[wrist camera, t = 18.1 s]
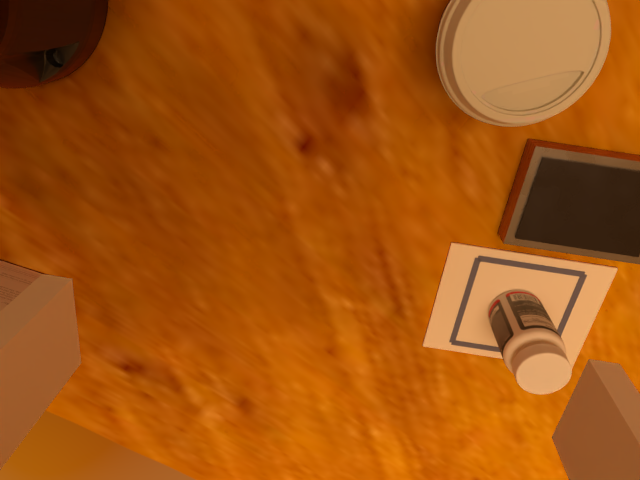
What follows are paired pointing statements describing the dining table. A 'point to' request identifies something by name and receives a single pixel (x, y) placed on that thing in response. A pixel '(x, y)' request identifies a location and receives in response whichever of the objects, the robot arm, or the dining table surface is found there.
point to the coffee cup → (520, 56)
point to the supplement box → (14, 281)
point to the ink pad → (575, 202)
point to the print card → (508, 275)
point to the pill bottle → (529, 342)
